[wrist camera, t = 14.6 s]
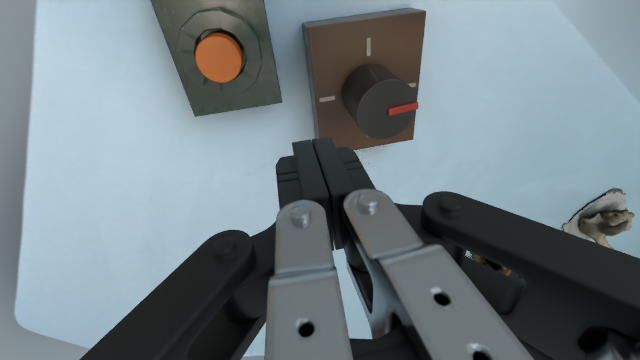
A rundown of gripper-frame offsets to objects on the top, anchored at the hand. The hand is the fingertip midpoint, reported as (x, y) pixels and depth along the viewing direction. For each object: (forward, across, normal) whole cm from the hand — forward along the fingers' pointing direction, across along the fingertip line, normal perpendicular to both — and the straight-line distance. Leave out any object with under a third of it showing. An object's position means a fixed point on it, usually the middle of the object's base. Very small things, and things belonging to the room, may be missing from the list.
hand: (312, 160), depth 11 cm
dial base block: (+19, -7, +3) cm, 20 cm away
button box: (+19, +5, -1) cm, 19 cm away
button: (+15, +5, -1) cm, 16 cm away
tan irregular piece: (+19, -50, +33) cm, 63 cm away
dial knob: (+16, -7, +3) cm, 18 cm away
